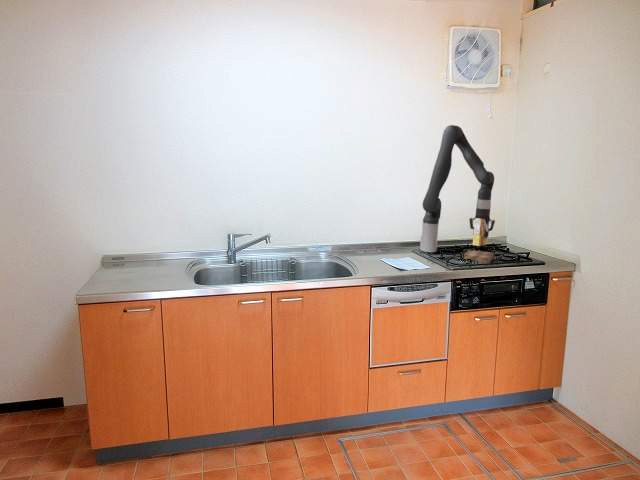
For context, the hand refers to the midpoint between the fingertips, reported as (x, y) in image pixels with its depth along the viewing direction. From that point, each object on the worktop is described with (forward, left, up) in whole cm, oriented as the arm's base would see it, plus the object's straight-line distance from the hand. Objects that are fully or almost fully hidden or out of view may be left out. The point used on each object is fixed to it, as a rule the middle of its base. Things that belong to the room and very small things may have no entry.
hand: (480, 237), depth 264 cm
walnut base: (0, 0, -13) cm, 13 cm away
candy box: (0, 0, -5) cm, 5 cm away
